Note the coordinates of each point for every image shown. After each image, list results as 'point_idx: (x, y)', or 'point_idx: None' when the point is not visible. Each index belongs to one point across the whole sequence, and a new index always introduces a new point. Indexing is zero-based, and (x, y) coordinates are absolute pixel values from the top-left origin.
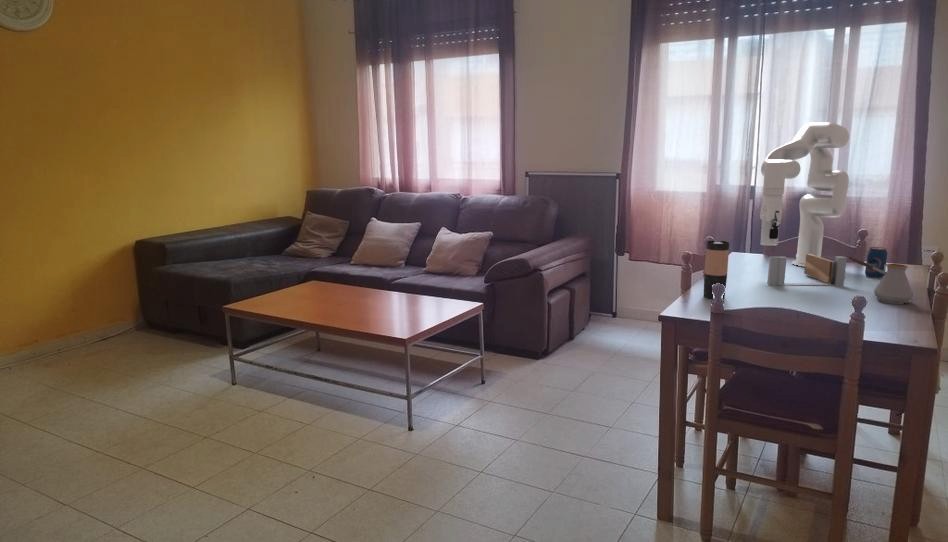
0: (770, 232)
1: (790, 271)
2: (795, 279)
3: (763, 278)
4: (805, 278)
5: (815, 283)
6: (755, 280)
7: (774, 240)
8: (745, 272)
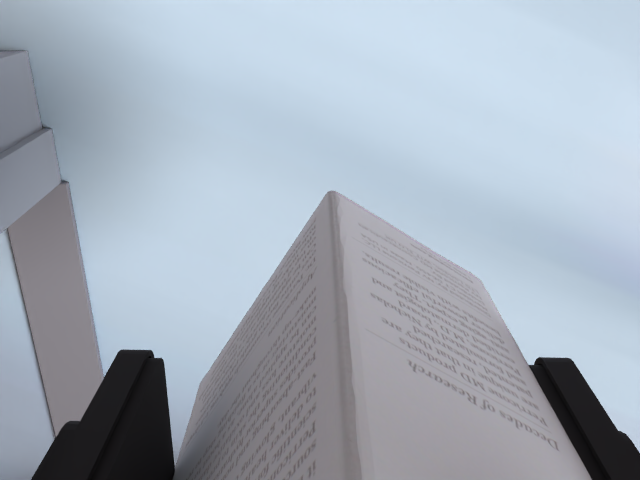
0: (68, 450)
1: None
2: None
3: (302, 127)
4: None
5: None
6: (204, 9)
7: (196, 418)
8: (592, 63)
